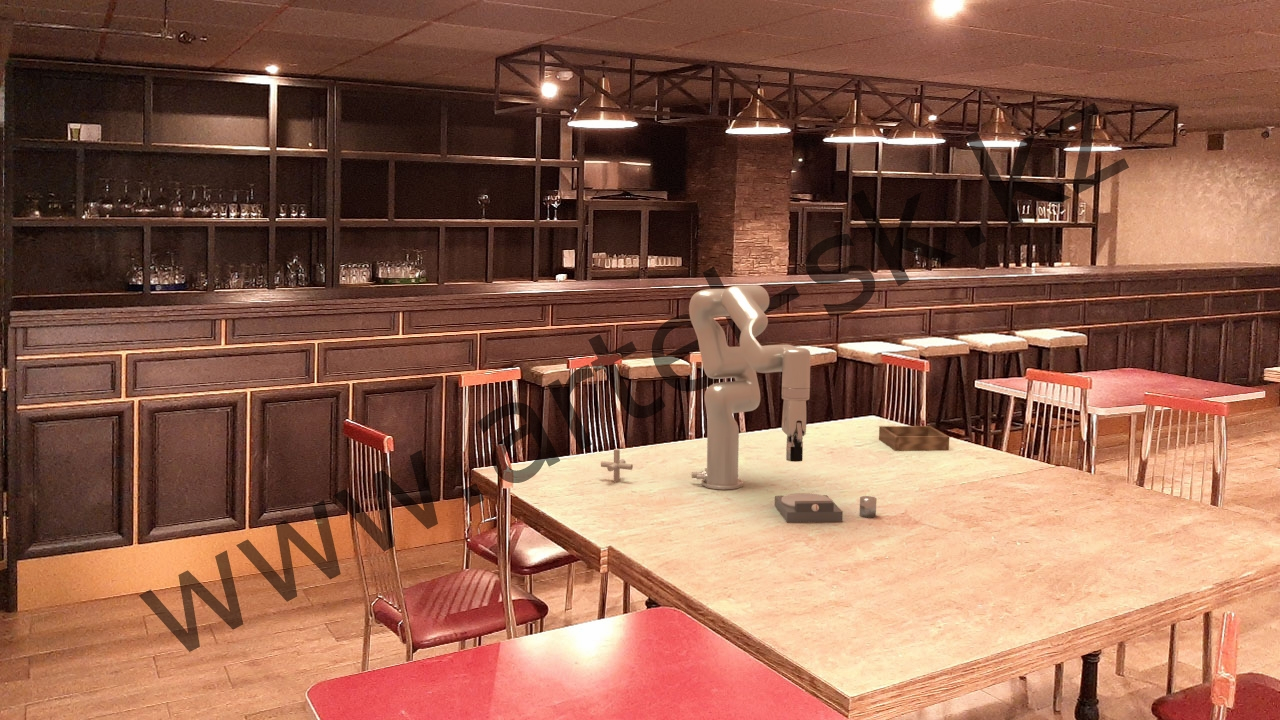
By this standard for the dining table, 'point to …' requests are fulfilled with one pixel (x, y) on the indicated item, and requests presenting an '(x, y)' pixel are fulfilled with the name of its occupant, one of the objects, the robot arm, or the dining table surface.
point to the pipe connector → (616, 465)
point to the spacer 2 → (867, 507)
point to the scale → (808, 508)
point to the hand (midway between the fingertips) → (794, 458)
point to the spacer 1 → (789, 445)
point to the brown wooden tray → (913, 438)
